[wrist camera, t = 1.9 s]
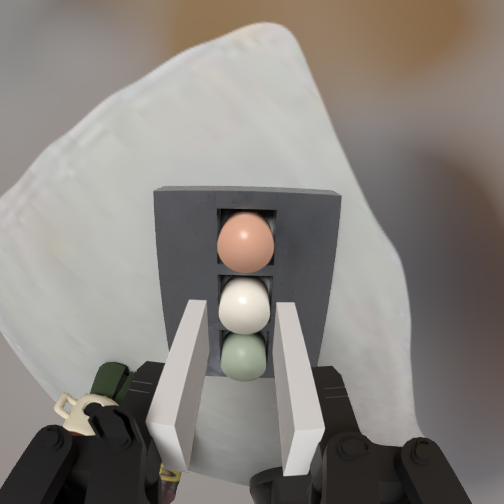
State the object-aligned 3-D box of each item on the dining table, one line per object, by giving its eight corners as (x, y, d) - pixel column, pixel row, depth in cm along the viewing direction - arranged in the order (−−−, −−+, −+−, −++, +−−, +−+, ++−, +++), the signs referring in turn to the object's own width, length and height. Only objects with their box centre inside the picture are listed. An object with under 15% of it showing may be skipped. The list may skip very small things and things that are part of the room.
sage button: (263, 360, 31) (265, 381, 28) (223, 359, 31) (221, 380, 28) (266, 327, 30) (267, 348, 26) (222, 326, 30) (219, 347, 26)
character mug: (164, 387, 35) (141, 465, 23) (141, 407, 37) (117, 476, 25) (98, 339, 33) (52, 409, 21) (80, 364, 35) (41, 428, 22)
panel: (310, 360, 34) (314, 376, 31) (177, 356, 33) (172, 372, 31) (332, 190, 27) (341, 195, 24) (163, 186, 27) (153, 191, 24)
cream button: (266, 314, 29) (268, 334, 26) (222, 313, 29) (219, 333, 26) (269, 274, 28) (271, 291, 24) (221, 273, 28) (217, 290, 24)
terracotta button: (270, 258, 27) (272, 273, 24) (221, 257, 27) (217, 272, 24) (272, 210, 26) (275, 220, 22) (221, 209, 26) (216, 218, 22)
